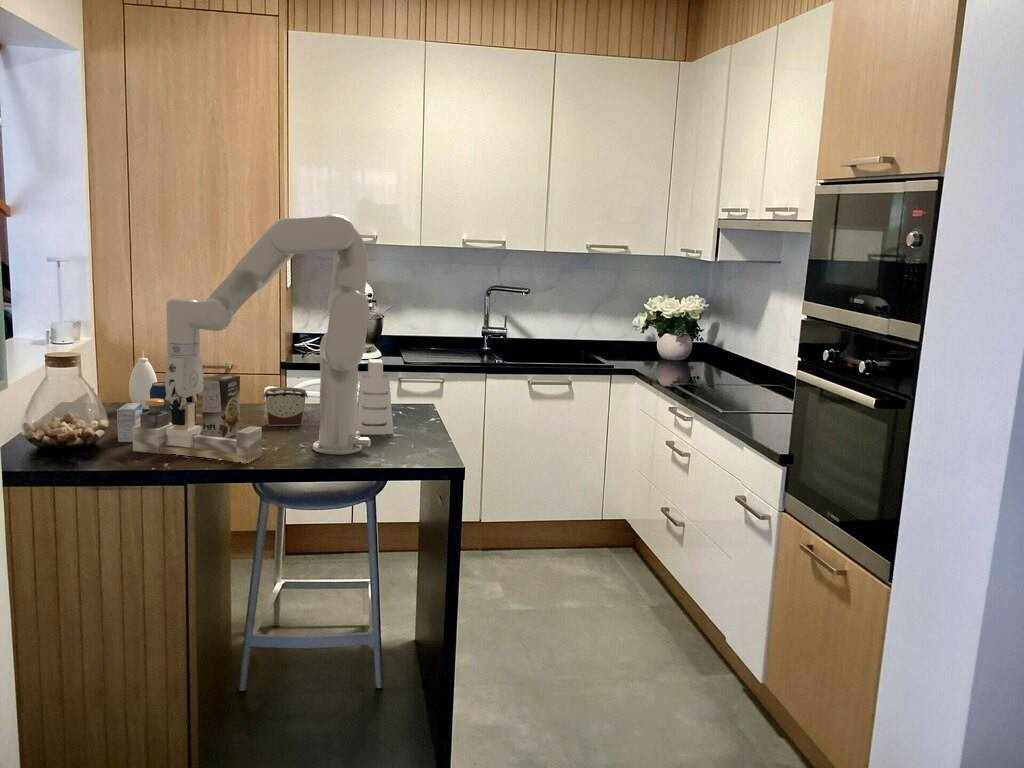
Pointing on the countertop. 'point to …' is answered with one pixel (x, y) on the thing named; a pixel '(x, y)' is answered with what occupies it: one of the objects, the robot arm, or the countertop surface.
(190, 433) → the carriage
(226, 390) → the coffee box
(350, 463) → the countertop surface
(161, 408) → the soda can
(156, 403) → the button
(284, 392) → the food container
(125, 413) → the medicine box
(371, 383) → the grater
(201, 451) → the slide rail
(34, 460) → the countertop surface
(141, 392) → the sauce bottle
